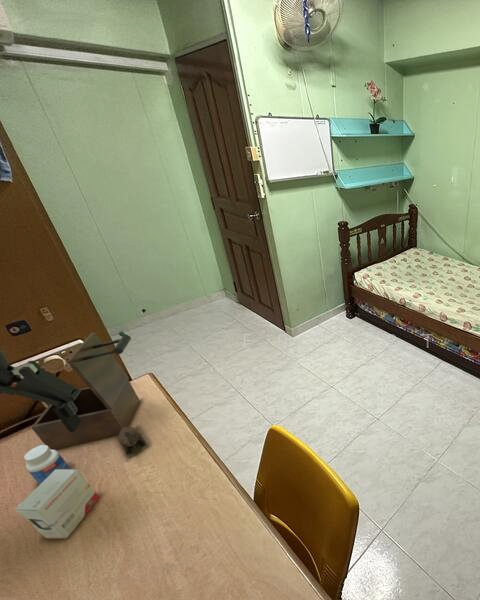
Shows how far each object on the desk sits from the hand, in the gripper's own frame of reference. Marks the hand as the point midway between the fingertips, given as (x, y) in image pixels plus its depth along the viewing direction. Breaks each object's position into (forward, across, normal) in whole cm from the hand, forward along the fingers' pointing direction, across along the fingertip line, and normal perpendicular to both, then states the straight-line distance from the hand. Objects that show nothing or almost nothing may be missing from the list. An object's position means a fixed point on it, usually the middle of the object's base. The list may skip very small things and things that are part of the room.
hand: (32, 436), depth 61 cm
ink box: (+24, -1, -3) cm, 24 cm away
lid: (+4, 0, +25) cm, 26 cm away
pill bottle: (+24, -10, +10) cm, 28 cm away
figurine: (+24, +6, +13) cm, 28 cm away
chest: (+23, -7, +26) cm, 35 cm away
